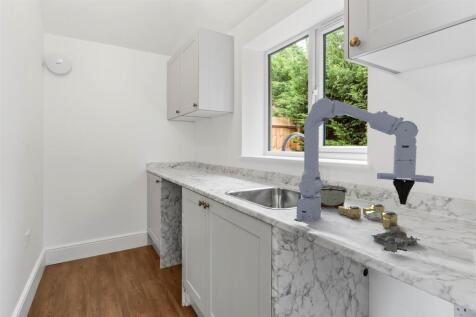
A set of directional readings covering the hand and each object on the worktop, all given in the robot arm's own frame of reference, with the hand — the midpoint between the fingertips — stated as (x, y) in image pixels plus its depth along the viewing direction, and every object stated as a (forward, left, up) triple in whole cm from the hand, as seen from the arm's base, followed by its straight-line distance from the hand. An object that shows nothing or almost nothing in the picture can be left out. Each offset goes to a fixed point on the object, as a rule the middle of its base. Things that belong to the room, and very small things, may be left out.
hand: (403, 204), depth 78 cm
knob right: (+2, +4, -8) cm, 10 cm away
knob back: (+12, +11, -8) cm, 18 cm away
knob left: (+5, +17, -8) cm, 20 cm away
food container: (+16, +28, -10) cm, 34 cm away
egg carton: (-13, 0, -10) cm, 16 cm away
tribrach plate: (+8, +10, -10) cm, 16 cm away
